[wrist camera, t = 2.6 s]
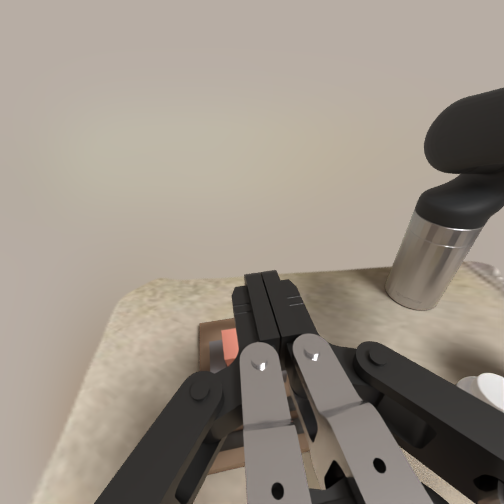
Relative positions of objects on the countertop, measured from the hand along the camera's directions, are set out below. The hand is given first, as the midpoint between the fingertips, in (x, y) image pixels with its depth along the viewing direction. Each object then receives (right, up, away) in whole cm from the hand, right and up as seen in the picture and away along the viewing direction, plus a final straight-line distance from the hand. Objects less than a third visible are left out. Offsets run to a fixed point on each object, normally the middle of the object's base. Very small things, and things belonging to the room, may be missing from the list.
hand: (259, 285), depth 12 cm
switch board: (-1, -17, +24) cm, 30 cm away
